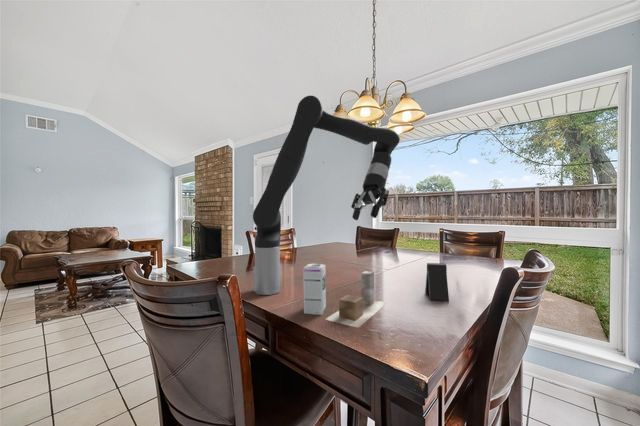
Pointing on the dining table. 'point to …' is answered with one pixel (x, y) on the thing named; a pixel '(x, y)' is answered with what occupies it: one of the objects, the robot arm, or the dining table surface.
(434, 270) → the door stopper
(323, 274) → the syrup box
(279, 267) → the robot arm
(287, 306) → the dining table surface
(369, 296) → the pale base with post
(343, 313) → the walnut block
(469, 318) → the dining table surface
